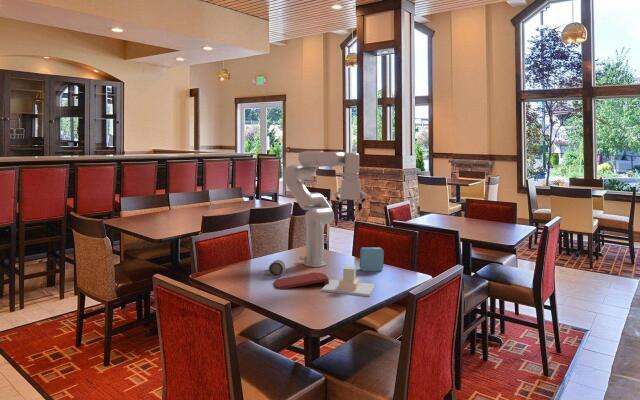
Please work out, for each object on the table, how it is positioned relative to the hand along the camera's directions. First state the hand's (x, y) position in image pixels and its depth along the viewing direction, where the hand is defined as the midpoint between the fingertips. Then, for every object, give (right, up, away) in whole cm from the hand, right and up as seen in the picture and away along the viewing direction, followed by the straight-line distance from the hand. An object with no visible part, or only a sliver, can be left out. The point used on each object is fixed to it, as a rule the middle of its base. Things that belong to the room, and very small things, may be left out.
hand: (350, 210), depth 237 cm
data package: (+12, -33, +13) cm, 37 cm away
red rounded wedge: (-24, -36, -17) cm, 46 cm away
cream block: (-2, -32, -22) cm, 39 cm away
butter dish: (-2, -36, -22) cm, 42 cm away
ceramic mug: (-39, -33, -2) cm, 51 cm away
